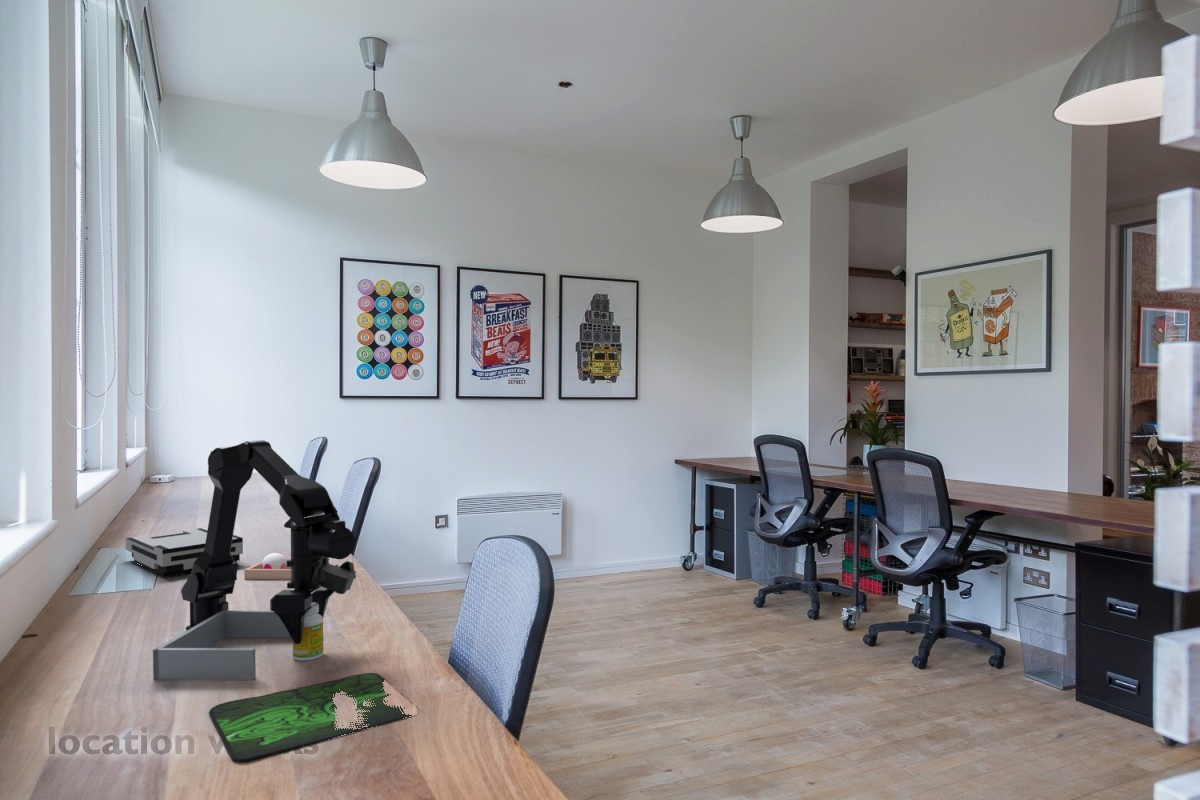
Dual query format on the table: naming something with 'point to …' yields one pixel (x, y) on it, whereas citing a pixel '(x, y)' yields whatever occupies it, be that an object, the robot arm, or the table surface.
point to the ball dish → (267, 572)
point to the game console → (174, 551)
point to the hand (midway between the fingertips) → (308, 635)
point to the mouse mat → (298, 716)
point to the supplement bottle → (310, 636)
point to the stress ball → (274, 561)
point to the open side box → (200, 662)
